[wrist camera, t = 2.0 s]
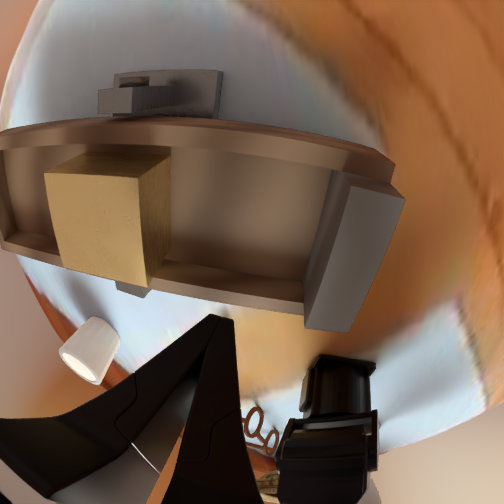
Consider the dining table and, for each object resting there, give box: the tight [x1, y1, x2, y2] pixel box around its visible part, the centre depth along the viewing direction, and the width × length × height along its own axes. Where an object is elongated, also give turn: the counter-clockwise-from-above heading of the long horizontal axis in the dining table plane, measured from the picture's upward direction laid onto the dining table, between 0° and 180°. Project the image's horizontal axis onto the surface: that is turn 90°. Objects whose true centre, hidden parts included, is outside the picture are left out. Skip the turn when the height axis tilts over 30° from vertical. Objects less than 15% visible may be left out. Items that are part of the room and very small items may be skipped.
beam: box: [0, 116, 405, 333], centre depth 15 cm, size 28×10×6 cm, turn 83°
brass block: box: [44, 152, 171, 287], centre depth 14 cm, size 6×6×4 cm
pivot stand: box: [98, 70, 223, 298], centre depth 17 cm, size 8×16×6 cm, turn 173°
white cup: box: [59, 317, 121, 385], centre depth 31 cm, size 7×7×7 cm
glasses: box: [242, 407, 279, 456], centre depth 38 cm, size 13×13×5 cm
